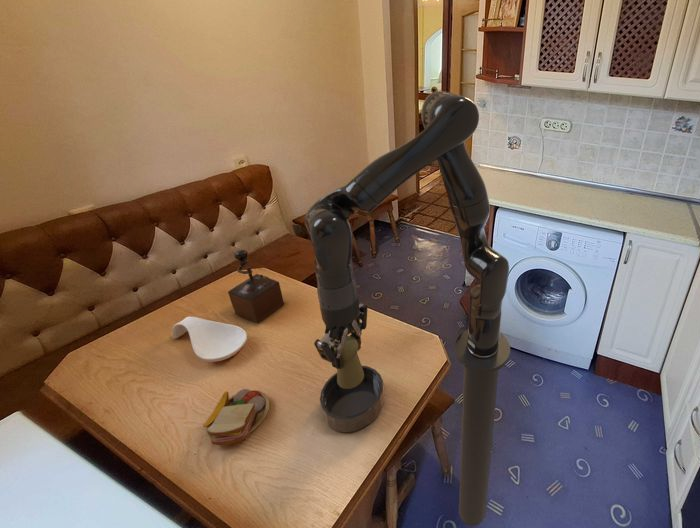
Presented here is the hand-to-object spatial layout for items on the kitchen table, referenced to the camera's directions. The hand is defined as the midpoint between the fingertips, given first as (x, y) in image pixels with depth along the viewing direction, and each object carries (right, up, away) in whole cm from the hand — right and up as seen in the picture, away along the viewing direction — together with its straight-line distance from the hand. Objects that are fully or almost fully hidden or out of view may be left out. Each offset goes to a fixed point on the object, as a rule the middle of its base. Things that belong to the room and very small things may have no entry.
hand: (347, 357), depth 80 cm
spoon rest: (-47, -6, +22) cm, 52 cm away
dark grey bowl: (-1, -14, +6) cm, 16 cm away
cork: (0, -6, +3) cm, 7 cm away
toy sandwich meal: (-25, -16, +2) cm, 30 cm away
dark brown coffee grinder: (-42, +1, +37) cm, 56 cm away
